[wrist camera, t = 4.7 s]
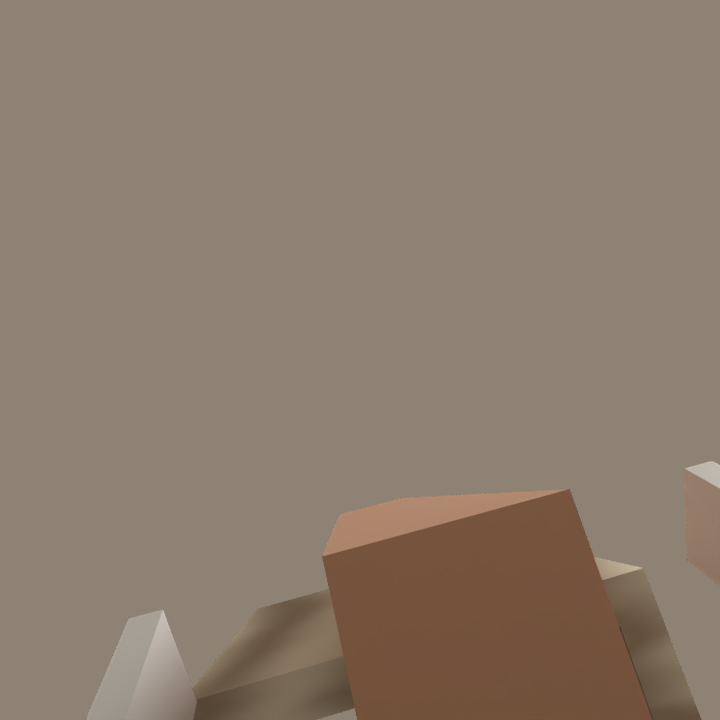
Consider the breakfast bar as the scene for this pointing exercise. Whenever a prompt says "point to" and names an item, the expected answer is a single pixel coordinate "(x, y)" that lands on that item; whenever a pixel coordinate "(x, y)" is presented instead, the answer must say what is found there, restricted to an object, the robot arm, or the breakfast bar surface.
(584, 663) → the bar
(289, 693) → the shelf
